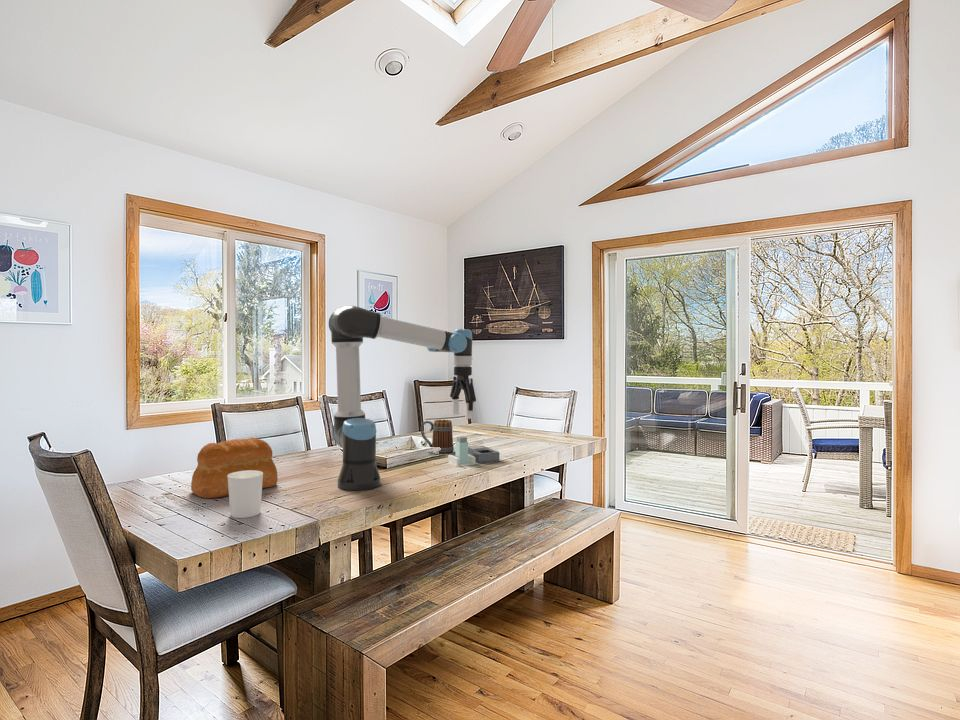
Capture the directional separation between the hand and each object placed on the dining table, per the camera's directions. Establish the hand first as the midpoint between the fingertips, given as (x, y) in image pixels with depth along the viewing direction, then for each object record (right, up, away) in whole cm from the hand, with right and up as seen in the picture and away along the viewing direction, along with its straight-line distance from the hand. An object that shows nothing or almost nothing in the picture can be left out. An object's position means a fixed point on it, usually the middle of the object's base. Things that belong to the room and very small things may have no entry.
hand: (462, 416), depth 229 cm
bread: (-78, -21, -39) cm, 90 cm away
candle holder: (-63, -22, -66) cm, 94 cm away
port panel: (+8, -21, +9) cm, 24 cm away
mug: (-13, -20, +27) cm, 36 cm away
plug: (0, -20, +1) cm, 20 cm away
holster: (0, -21, +1) cm, 21 cm away
